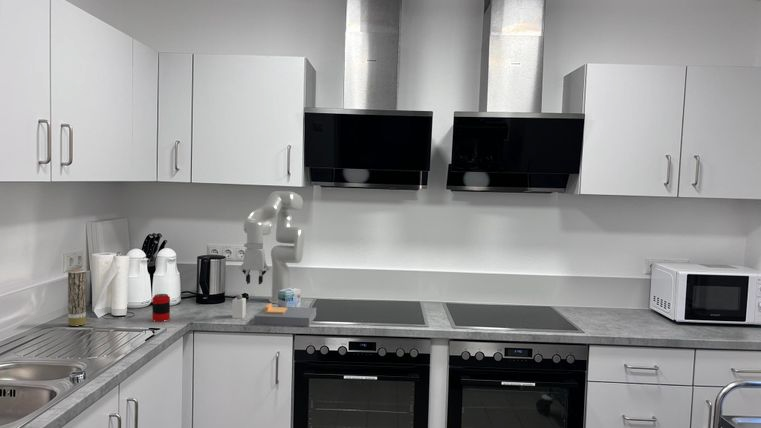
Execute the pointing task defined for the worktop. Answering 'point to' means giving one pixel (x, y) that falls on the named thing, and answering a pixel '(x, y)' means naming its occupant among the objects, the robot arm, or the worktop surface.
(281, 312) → the orange flat block
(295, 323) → the socket plate
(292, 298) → the light bulb box
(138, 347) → the worktop surface
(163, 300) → the soda can
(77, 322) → the brown bark patterned cylinder
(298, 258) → the robot arm
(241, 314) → the plug
